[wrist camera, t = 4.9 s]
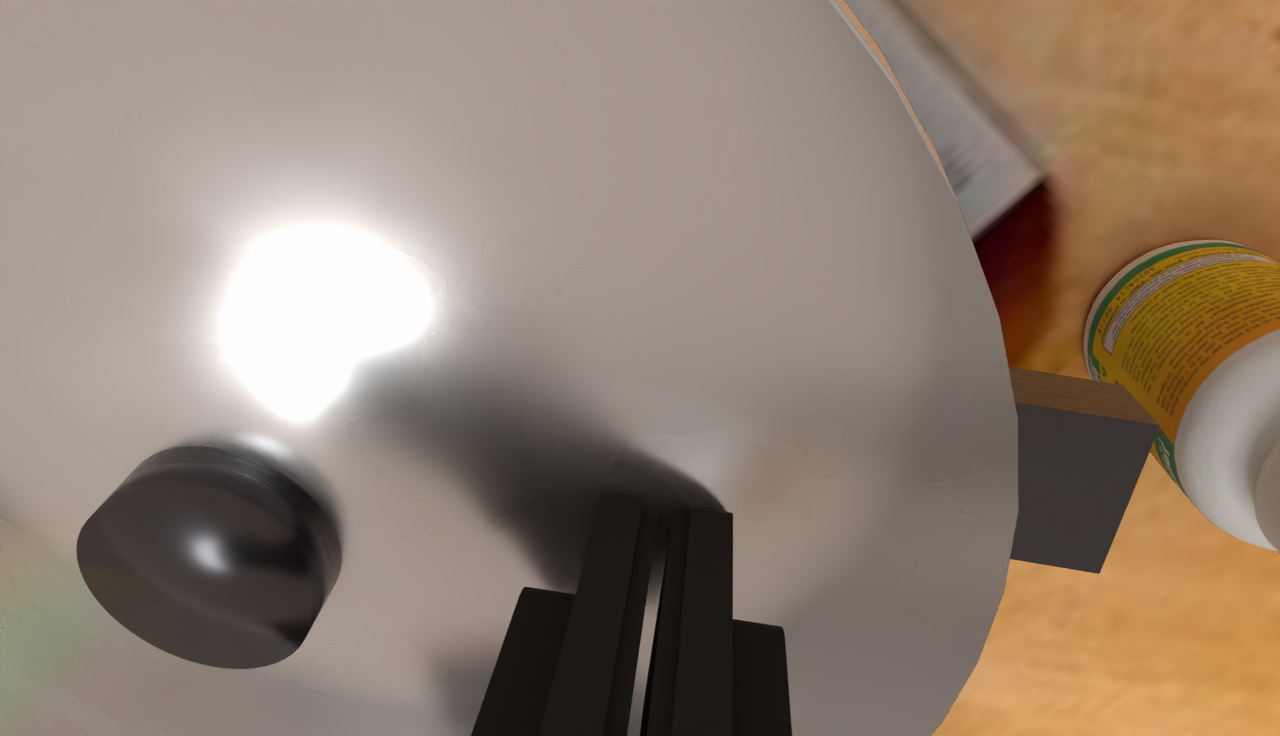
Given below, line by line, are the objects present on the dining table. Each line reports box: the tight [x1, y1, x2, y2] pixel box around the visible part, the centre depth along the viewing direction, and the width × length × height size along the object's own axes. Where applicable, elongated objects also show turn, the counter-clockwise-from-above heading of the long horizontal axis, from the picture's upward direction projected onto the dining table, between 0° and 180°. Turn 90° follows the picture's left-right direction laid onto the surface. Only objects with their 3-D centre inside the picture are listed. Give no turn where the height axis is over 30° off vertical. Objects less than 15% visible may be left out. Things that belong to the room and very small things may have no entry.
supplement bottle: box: [1083, 240, 1280, 553], centre depth 21 cm, size 5×5×10 cm
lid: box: [0, 0, 1018, 736], centre depth 12 cm, size 20×20×2 cm
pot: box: [1008, 367, 1160, 574], centre depth 20 cm, size 27×20×12 cm
